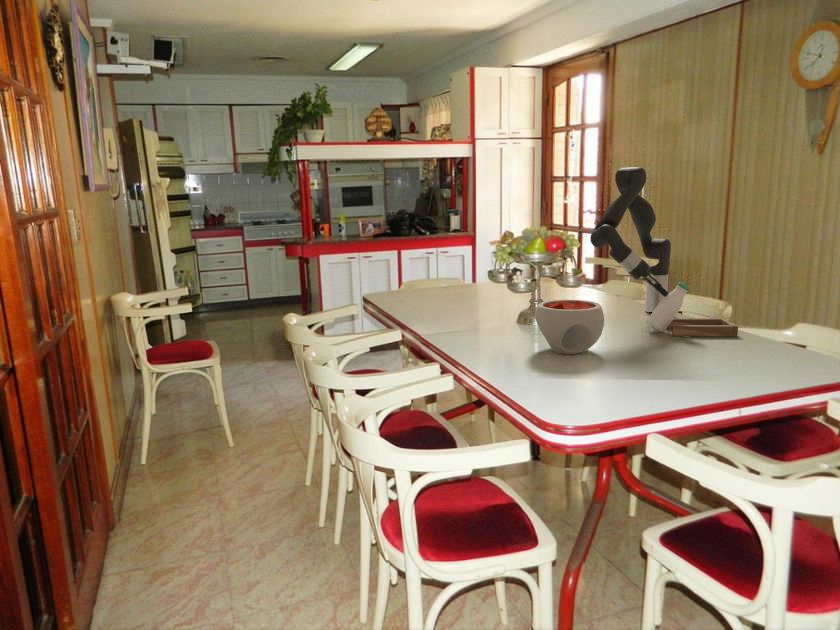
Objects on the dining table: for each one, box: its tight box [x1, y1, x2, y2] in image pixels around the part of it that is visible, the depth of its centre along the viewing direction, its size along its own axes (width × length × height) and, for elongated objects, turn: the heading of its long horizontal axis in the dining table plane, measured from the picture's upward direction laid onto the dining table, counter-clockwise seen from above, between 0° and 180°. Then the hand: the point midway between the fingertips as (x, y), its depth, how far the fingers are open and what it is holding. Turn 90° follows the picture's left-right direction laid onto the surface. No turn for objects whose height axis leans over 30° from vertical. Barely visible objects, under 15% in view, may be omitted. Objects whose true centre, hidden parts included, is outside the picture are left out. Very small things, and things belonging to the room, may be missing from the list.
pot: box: [534, 299, 605, 355], centre depth 222 cm, size 24×24×18 cm
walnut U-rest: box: [666, 317, 739, 338], centre depth 245 cm, size 15×23×4 cm, turn 82°
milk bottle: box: [646, 281, 691, 333], centre depth 245 cm, size 8×8×20 cm
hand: (666, 294), depth 244 cm, fingers closed
